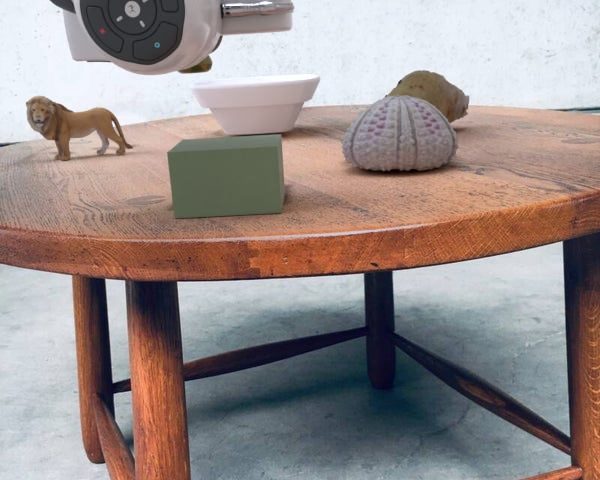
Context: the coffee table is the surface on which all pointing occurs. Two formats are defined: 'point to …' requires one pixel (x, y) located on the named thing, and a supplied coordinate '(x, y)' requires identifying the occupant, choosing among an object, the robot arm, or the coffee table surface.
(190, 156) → the block
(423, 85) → the mineral
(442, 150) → the sea urchin shell
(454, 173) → the coffee table surface
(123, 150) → the lion figurine
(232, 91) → the bowl
